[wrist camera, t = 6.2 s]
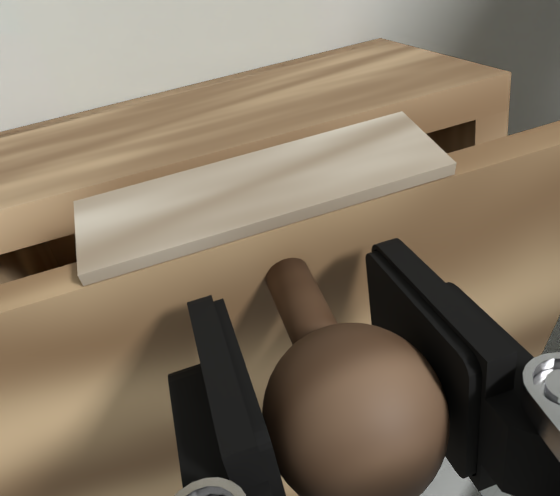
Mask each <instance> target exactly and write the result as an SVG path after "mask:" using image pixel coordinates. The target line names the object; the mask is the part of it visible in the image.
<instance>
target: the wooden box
mask: <svg viewBox="0 0 560 496" xmlns="http://www.w3.org/2000/svg"><path fill="white" fill-rule="evenodd" d="M510 86H511V72H509V71H505V70H501V69H498V68H494V67H490V66H486V65H482V64H478V63H474V62H471V61H467V60H463V59H459V58H455V57H451V56H447V55H444V54H440V53H436V52H432V51H428V50H424V49H420V48H416V47H413V46H409V45H405V44H401V43H397V42H393V41H389V40H386V39H382V38H379V39H375V40H371V41H367V42H363V43H359V44H355V45H351V46H347V47H343V48H339V49H334V50H330V51H326V52H322V53H318V54H314V55H310V56H306V57H302V58H298V59H294V60H290V61H286V62H282V63H278V64H274V65H270V66H266V67H262V68H258V69H254V70H250V71H245V72H241V73H237V74H233V75H229V76H225V77H221V78H217V79H213V80H209V81H205V82H201V83H197V84H193V85H189V86H185V87H181V88H177V89H173V90H169V91H165V92H161V93H156V94H152V95H148V96H144V97H140V98H136V99H132V100H128V101H124V102H120V103H116V104H112V105H108V106H104V107H100V108H96V109H92V110H88V111H84V112H80V113H76V114H72V115H68V116H63V117H59V118H55V119H51V120H47V121H43V122H39V123H35V124H31V125H27V126H23V127H19V128H15V129H11V130H7V131H3V132H0V284H3V283H7V282H10V281H14V280H17V279H21V278H24V277H27V276H31V275H34V274H38V273H41V272H44V271H48V270H51V269H55V268H58V267H62V266H65V265H68V264H72V263H75V262H77V256H76V238H75V220H74V202H73V201H76V200H80V199H84V198H87V197H91V196H94V195H98V194H102V193H105V192H109V191H113V190H116V189H120V188H124V187H127V186H131V185H135V184H138V183H142V182H146V181H149V180H153V179H157V178H160V177H164V176H167V175H171V174H175V173H178V172H182V171H186V170H189V169H193V168H197V167H200V166H204V165H208V164H211V163H215V162H219V161H222V160H226V159H230V158H233V157H237V156H240V155H244V154H248V153H251V152H255V151H259V150H262V149H266V148H270V147H273V146H277V145H281V144H284V143H288V142H292V141H295V140H299V139H303V138H306V137H310V136H313V135H317V134H321V133H324V132H328V131H332V130H335V129H339V128H343V127H346V126H350V125H354V124H357V123H361V122H365V121H368V120H372V119H376V118H379V117H383V116H386V115H390V114H394V113H397V112H401V111H402V112H404V113H405V114H406V115H407V116H408V117H409V118H410V119H411V120H412V121H413V122H414V123H415V124H416V125H417V126H418V127H419V128H420V129H421V130H422V131H423V132H425V133H426V134H427V135H428V136H429V137H430V138H431V139H432V140H433V141H434V142H435V143H436V144H437V145H438V146H439V147H440V148H441V149H442V150H443V151H444V152H446V153H451V152H454V151H457V150H461V149H464V148H468V147H471V146H475V145H478V144H481V143H485V142H488V141H492V140H495V139H498V138H502V137H505V136H507V133H508V117H509V102H510Z"/></svg>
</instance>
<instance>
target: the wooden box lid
mask: <svg viewBox="0 0 560 496" xmlns="http://www.w3.org/2000/svg"><path fill="white" fill-rule="evenodd" d="M73 202H74V220H75V238H76V256H77V262H75V263H72V264H68V265H65V266H62V267H58V268H55V269H51V270H48V271H44V272H41V273H38V274H34V275H31V276H27V277H24V278H21V279H17V280H14V281H10V282H7V283H3V284H0V496H174V495H175V494H176V493H177V492H178V491H179V490H181V489H182V488H183V486H182V479H181V472H180V465H179V457H178V450H177V443H176V435H175V428H174V421H173V413H172V406H171V399H170V392H169V384H168V374H170V373H173V372H176V371H179V370H182V369H185V368H188V367H191V366H194V365H197V364H200V360H199V356H198V351H197V347H196V342H195V338H194V333H193V329H192V324H191V320H190V315H189V311H188V306H187V302H190V301H193V300H196V299H199V298H203V297H206V296H209V295H212V298H213V301H216V300H219V299H222V298H223V299H224V302H225V305H226V308H227V311H228V314H229V317H230V320H231V323H232V326H233V329H234V332H235V335H236V338H237V341H238V344H239V347H240V350H241V353H242V355H243V358H244V361H245V364H246V367H247V370H248V373H249V376H250V379H251V382H252V385H253V388H254V391H255V394H256V397H257V400H258V403H259V406H260V409H261V412H262V415H263V418H264V421H265V424H266V427H267V430H268V433H269V436H270V439H271V443H272V446H273V450H274V453H275V457H276V460H277V464H278V468H279V471H280V475H281V479H282V482H283V486H284V490H285V493H286V496H419V495H421V494H422V493H423V492H424V491H425V489H426V488H427V487H428V486H429V484H430V483H431V482H432V481H433V479H434V478H435V476H436V474H437V472H438V471H439V469H440V467H441V465H442V462H443V459H444V457H445V454H446V450H447V445H448V440H449V430H450V420H449V410H448V404H447V400H446V395H445V393H444V390H443V387H442V385H441V382H440V380H439V378H438V376H437V375H436V373H435V371H434V369H433V368H432V366H431V365H430V364H429V362H428V361H427V360H426V358H425V357H424V356H423V355H422V354H421V353H420V352H419V351H418V350H417V349H416V348H415V347H414V346H413V345H412V344H410V343H409V342H408V341H406V340H405V339H403V338H402V337H400V336H399V335H397V334H395V333H393V332H391V331H389V330H386V329H384V328H381V327H378V326H374V325H372V324H371V313H370V303H369V292H368V282H367V271H366V260H365V257H366V254H367V253H370V252H371V249H372V246H373V245H374V244H378V243H381V242H384V241H387V240H391V239H394V238H398V239H400V240H401V241H402V242H403V243H404V244H405V245H406V246H408V247H409V248H410V249H411V250H412V251H413V252H414V253H415V254H416V255H417V256H418V257H419V258H420V259H421V260H422V261H423V262H424V263H425V264H426V265H428V266H429V267H430V268H431V269H432V270H433V271H434V272H435V273H436V274H437V275H438V276H439V277H440V278H441V279H442V280H443V281H444V282H445V283H447V282H451V283H454V284H455V285H456V286H458V287H459V288H460V289H461V290H462V291H463V292H464V293H465V294H466V295H468V296H469V297H470V298H471V299H472V300H473V301H474V302H475V303H476V304H477V305H478V306H479V307H480V308H482V309H483V310H484V311H485V312H486V313H487V314H488V315H489V316H490V317H491V318H492V319H493V320H495V321H496V322H497V323H498V324H499V325H500V326H501V327H502V328H503V329H504V330H505V331H506V332H507V333H509V334H510V335H511V336H512V337H513V338H514V339H515V340H516V341H517V342H518V343H519V344H520V345H521V346H523V347H524V348H525V349H526V350H527V351H528V352H529V353H530V354H531V355H532V356H533V357H537V356H539V355H541V354H542V352H543V350H544V348H545V346H546V344H547V341H548V339H549V337H550V335H551V333H552V331H553V329H554V327H555V324H556V322H557V320H558V318H559V316H560V121H556V122H553V123H550V124H546V125H543V126H539V127H536V128H533V129H529V130H526V131H522V132H519V133H515V134H512V135H509V136H505V137H502V138H498V139H495V140H492V141H488V142H485V143H481V144H478V145H475V146H471V147H468V148H464V149H461V150H457V151H454V152H451V153H446V152H444V151H443V150H442V149H441V148H440V147H439V146H438V145H437V144H436V143H435V142H434V141H433V140H432V139H431V138H430V137H429V136H428V135H427V134H426V133H425V132H423V131H422V130H421V129H420V128H419V127H418V126H417V125H416V124H415V123H414V122H413V121H412V120H411V119H410V118H409V117H408V116H407V115H406V114H405V113H404V112H402V111H401V112H397V113H394V114H390V115H386V116H383V117H379V118H376V119H372V120H368V121H365V122H361V123H357V124H354V125H350V126H346V127H343V128H339V129H335V130H332V131H328V132H324V133H321V134H317V135H313V136H310V137H306V138H303V139H299V140H295V141H292V142H288V143H284V144H281V145H277V146H273V147H270V148H266V149H262V150H259V151H255V152H251V153H248V154H244V155H240V156H237V157H233V158H230V159H226V160H222V161H219V162H215V163H211V164H208V165H204V166H200V167H197V168H193V169H189V170H186V171H182V172H178V173H175V174H171V175H167V176H164V177H160V178H157V179H153V180H149V181H146V182H142V183H138V184H135V185H131V186H127V187H124V188H120V189H116V190H113V191H109V192H105V193H102V194H98V195H94V196H91V197H87V198H84V199H80V200H76V201H73Z"/></svg>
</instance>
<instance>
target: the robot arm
mask: <svg viewBox="0 0 560 496" xmlns="http://www.w3.org/2000/svg"><path fill="white" fill-rule="evenodd" d="M365 260H366V271H367V282H368V292H369V303H370V313H371V324H372V325H374V326H378V327H381V328H384V329H386V330H389V331H391V332H393V333H395V334H397V335H399V336H400V337H402V338H403V339H405V340H406V341H408V342H409V343H410V344H412V345H413V346H414V347H415V348H416V349H417V350H418V351H419V352H420V353H421V354H422V355H423V356H424V357H425V358H426V360H427V361H428V362H429V364H430V365H431V366H432V368H433V369H434V371H435V373H436V375H437V376H438V378H439V380H440V382H441V385H442V387H443V390H444V393H445V395H446V400H447V404H448V410H449V420H450V430H449V440H448V445H447V450H446V454H445V456H446V458H447V459H448V461H449V462H450V464H451V465H452V467H453V468H454V470H455V471H456V472H457V474H458V475H459V476H460V477H461V478H466V477H468V476H469V478H470V479H471V481H472V482H473V483H474V485H475V486H476V488H477V489H478V491H481V490H484V489H486V488H489V487H491V486H494V485H497V486H498V487H499V489H500V490H501V492H504V493H507V494H510V495H511V496H560V352H554V353H546V354H542V355H539V356H537V357H533V356H532V355H531V354H530V353H529V352H528V351H527V350H526V349H525V348H524V347H523V346H521V345H520V344H519V343H518V342H517V341H516V340H515V339H514V338H513V337H512V336H511V335H510V334H509V333H507V332H506V331H505V330H504V329H503V328H502V327H501V326H500V325H499V324H498V323H497V322H496V321H495V320H493V319H492V318H491V317H490V316H489V315H488V314H487V313H486V312H485V311H484V310H483V309H482V308H480V307H479V306H478V305H477V304H476V303H475V302H474V301H473V300H472V299H471V298H470V297H469V296H468V295H466V294H465V293H464V292H463V291H462V290H461V289H460V288H459V287H458V286H456V285H455V284H454V283H451V282H447V283H445V282H444V281H443V280H442V279H441V278H440V277H439V276H438V275H437V274H436V273H435V272H434V271H433V270H432V269H431V268H430V267H429V266H428V265H426V264H425V263H424V262H423V261H422V260H421V259H420V258H419V257H418V256H417V255H416V254H415V253H414V252H413V251H412V250H411V249H410V248H409V247H408V246H406V245H405V244H404V243H403V242H402V241H401V240H400V239H398V238H394V239H391V240H387V241H384V242H381V243H378V244H374V245H373V246H372V249H371V252H370V253H367V254H366V257H365ZM187 306H188V311H189V315H190V320H191V324H192V329H193V333H194V338H195V342H196V347H197V351H198V356H199V360H200V364H197V365H194V366H191V367H188V368H185V369H182V370H179V371H176V372H173V373H170V374H168V384H169V392H170V399H171V406H172V413H173V421H174V428H175V435H176V443H177V450H178V457H179V465H180V472H181V479H182V486H183V488H182V489H181V490H179V491H178V492H177V493H176V494H175V495H174V496H286V493H285V490H284V486H283V482H282V479H281V475H280V471H279V468H278V464H277V460H276V457H275V453H274V450H273V446H272V443H271V439H270V436H269V433H268V430H267V427H266V424H265V421H264V418H263V415H262V412H261V409H260V406H259V403H258V400H257V397H256V394H255V391H254V388H253V385H252V382H251V379H250V376H249V373H248V370H247V367H246V364H245V361H244V358H243V355H242V353H241V350H240V347H239V344H238V341H237V338H236V335H235V332H234V329H233V326H232V323H231V320H230V317H229V314H228V311H227V308H226V305H225V302H224V299H223V298H222V299H219V300H216V301H213V298H212V295H209V296H206V297H203V298H199V299H196V300H193V301H190V302H187Z"/></svg>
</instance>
